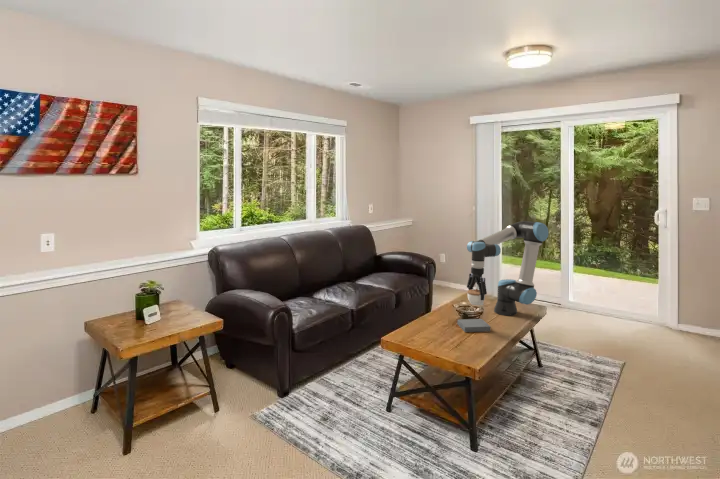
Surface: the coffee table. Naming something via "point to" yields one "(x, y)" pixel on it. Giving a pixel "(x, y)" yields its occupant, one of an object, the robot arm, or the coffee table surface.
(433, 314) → the coffee table surface
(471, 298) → the lidded jar
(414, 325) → the coffee table surface
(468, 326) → the block
